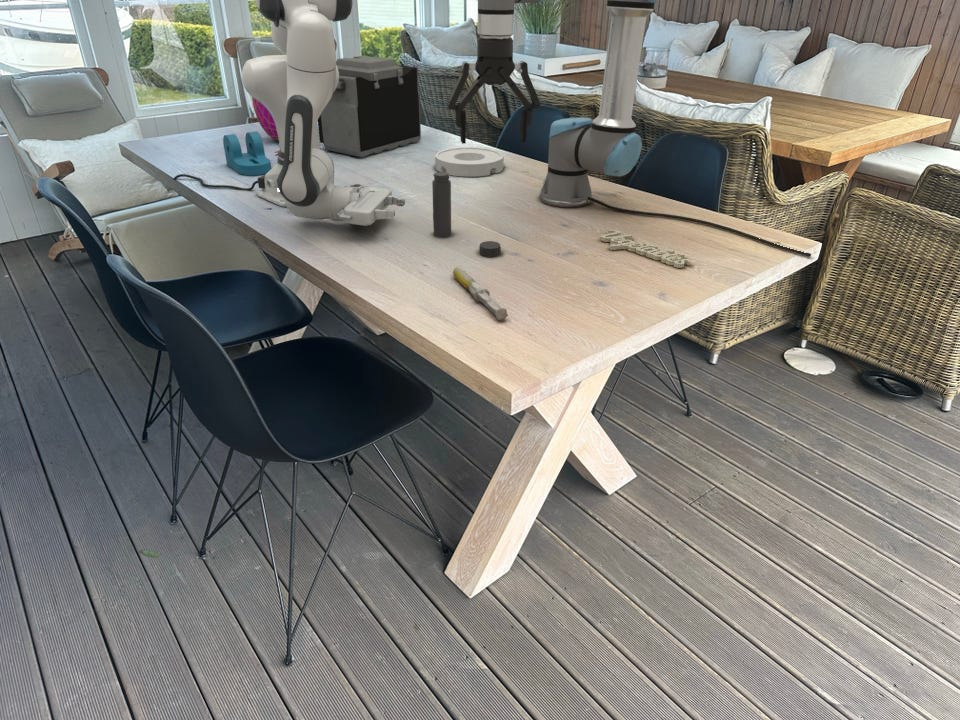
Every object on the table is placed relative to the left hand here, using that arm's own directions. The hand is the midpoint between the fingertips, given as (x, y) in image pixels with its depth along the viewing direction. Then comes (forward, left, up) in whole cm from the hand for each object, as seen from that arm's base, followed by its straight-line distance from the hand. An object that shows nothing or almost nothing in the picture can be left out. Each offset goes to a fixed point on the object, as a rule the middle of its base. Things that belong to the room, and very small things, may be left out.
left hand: (399, 208), depth 176 cm
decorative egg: (-102, +51, -6) cm, 114 cm away
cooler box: (-69, +64, -6) cm, 94 cm away
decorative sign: (+56, +24, -6) cm, 62 cm away
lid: (+27, +1, -4) cm, 28 cm away
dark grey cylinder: (+10, +5, -6) cm, 13 cm away
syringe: (+39, -21, -6) cm, 45 cm away
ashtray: (-22, +61, -6) cm, 65 cm away
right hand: (+27, +1, +20) cm, 34 cm away
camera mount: (-79, +16, -6) cm, 81 cm away
